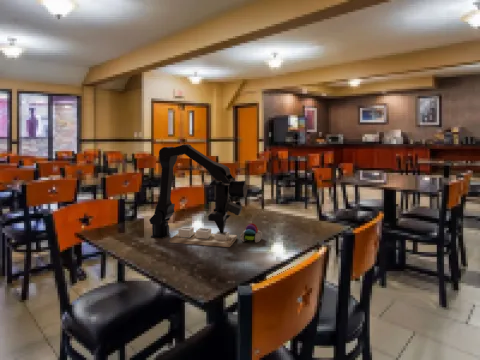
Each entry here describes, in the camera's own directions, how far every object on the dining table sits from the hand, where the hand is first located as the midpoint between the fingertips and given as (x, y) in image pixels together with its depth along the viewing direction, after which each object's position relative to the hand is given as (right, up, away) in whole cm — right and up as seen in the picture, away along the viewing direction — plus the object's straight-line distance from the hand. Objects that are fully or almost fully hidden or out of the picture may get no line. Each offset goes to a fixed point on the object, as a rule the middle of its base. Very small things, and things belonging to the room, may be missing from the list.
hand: (221, 232), depth 145 cm
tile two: (-8, -2, +2) cm, 8 cm away
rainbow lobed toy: (+13, -4, +3) cm, 13 cm away
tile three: (0, -3, 0) cm, 3 cm away
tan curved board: (-8, -4, +2) cm, 9 cm away
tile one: (-16, -2, +4) cm, 16 cm away
